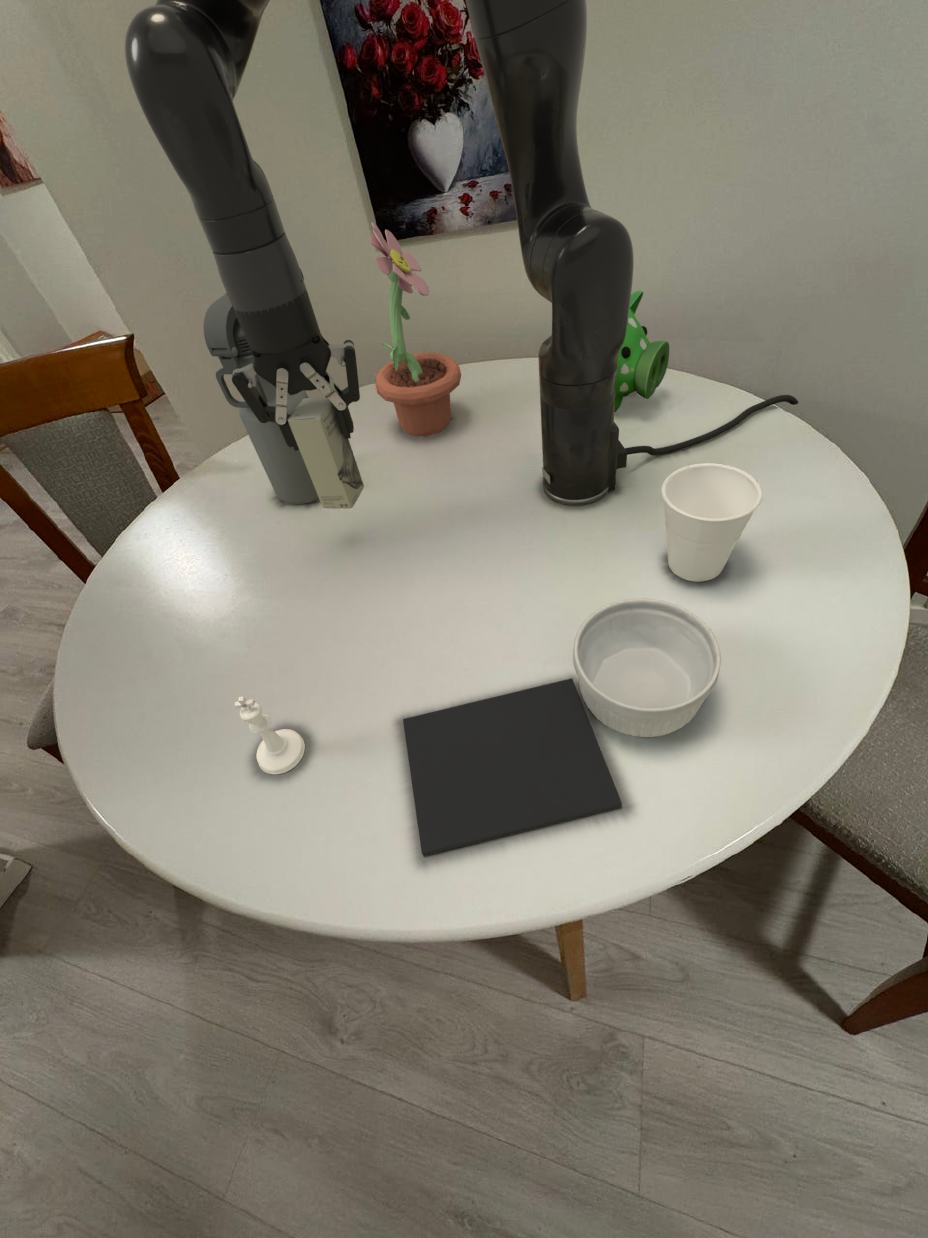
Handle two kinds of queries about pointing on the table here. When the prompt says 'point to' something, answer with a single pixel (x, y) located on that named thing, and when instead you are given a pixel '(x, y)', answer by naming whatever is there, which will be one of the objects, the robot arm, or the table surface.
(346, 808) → the table surface
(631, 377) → the piggy bank
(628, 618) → the ramekin
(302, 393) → the water bottle
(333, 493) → the box
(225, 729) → the table surface
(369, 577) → the table surface
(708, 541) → the cup
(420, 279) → the decorative flower
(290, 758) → the chess piece
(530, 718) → the mat
